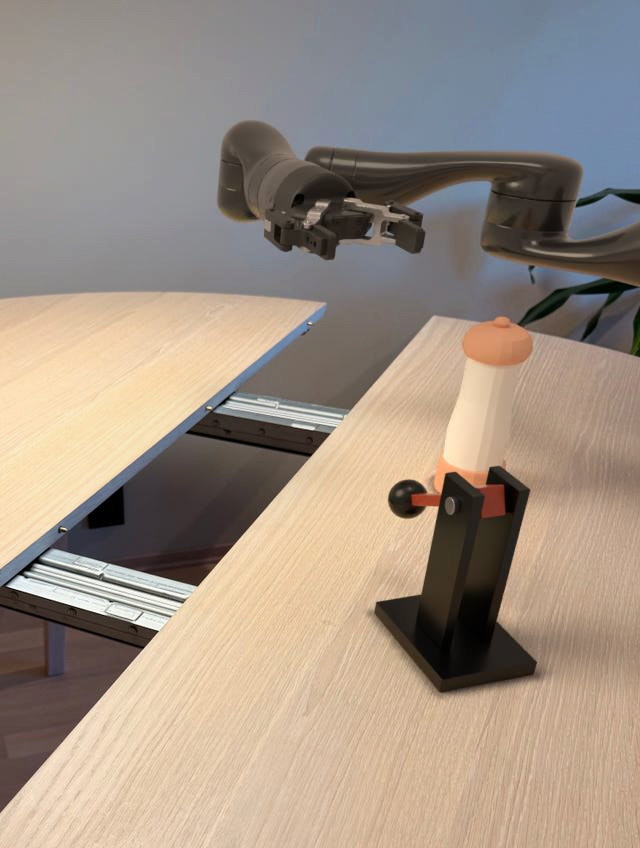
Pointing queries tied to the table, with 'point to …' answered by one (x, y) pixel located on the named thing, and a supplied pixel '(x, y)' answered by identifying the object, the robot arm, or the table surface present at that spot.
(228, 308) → the table surface
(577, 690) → the table surface
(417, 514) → the lever
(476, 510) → the bracket
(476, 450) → the salt shaker
